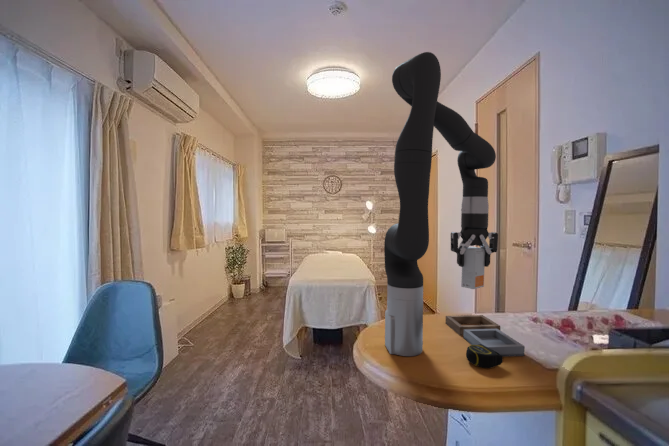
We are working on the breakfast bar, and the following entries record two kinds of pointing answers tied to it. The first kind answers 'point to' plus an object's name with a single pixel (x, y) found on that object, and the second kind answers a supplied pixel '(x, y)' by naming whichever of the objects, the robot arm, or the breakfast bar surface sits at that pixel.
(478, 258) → the skincare box
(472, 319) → the brown rectangular frame
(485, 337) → the tray
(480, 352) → the tape measure
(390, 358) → the breakfast bar surface
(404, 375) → the breakfast bar surface
